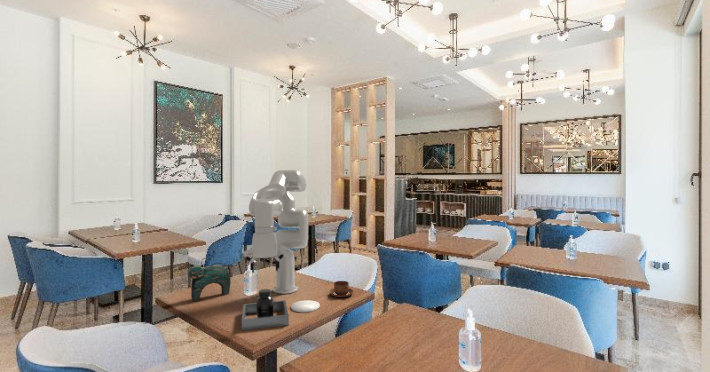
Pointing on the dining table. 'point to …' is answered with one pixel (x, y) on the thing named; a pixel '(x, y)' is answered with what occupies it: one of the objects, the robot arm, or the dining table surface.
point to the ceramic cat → (208, 278)
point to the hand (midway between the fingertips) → (265, 271)
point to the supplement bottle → (265, 303)
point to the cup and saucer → (341, 289)
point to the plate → (305, 306)
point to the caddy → (264, 321)
